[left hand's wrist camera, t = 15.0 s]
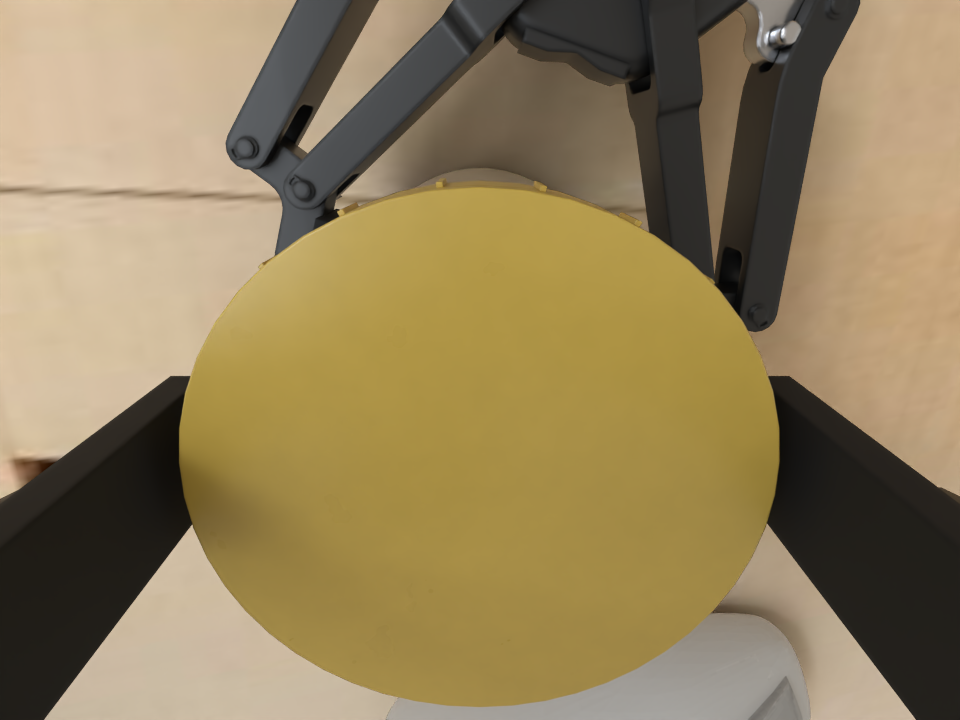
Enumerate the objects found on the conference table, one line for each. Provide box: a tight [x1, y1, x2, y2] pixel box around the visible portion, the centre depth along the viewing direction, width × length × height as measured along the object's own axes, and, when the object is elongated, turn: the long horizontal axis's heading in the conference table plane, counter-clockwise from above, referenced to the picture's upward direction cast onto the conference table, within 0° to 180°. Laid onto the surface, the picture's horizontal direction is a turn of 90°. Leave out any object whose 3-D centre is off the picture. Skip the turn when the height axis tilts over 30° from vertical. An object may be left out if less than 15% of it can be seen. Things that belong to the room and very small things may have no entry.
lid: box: [179, 178, 780, 707], centre depth 11 cm, size 11×11×2 cm
